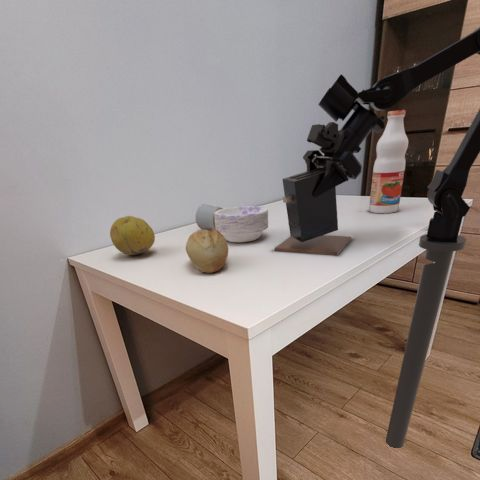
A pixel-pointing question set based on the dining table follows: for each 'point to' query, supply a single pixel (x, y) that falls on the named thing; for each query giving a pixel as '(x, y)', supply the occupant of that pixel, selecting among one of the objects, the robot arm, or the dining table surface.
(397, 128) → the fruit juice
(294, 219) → the toaster
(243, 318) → the dining table surface
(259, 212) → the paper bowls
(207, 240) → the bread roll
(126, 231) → the fruit
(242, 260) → the dining table surface
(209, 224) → the ceramic mug
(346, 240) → the board
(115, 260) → the dining table surface
